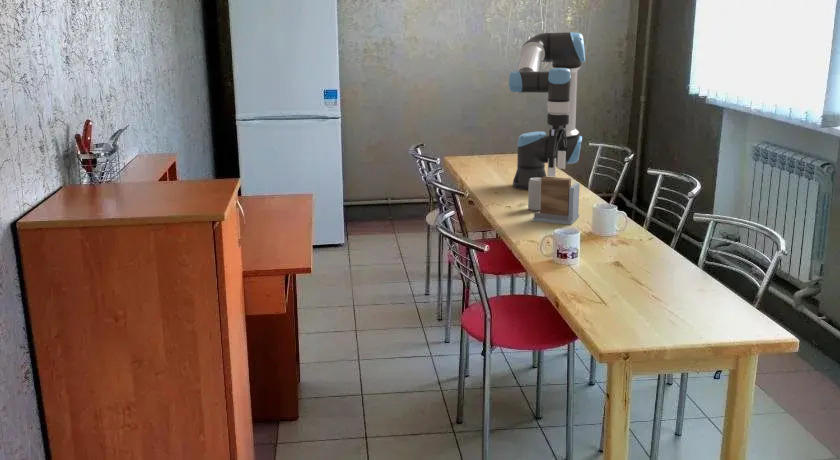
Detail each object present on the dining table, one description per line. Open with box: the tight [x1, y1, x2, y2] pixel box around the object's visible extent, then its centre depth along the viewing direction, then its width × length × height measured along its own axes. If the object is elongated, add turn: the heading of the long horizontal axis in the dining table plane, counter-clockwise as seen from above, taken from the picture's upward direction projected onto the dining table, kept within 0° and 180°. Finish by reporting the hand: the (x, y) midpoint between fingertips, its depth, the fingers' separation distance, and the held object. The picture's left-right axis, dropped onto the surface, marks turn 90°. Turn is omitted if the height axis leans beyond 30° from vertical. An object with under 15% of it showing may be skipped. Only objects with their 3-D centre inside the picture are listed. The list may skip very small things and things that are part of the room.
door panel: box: [539, 176, 572, 215], centre depth 285 cm, size 4×10×14 cm, turn 66°
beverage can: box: [527, 178, 541, 212], centre depth 299 cm, size 6×6×12 cm
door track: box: [532, 182, 581, 225], centre depth 285 cm, size 12×14×13 cm
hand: (556, 172), depth 283 cm, fingers open, 13 cm apart
